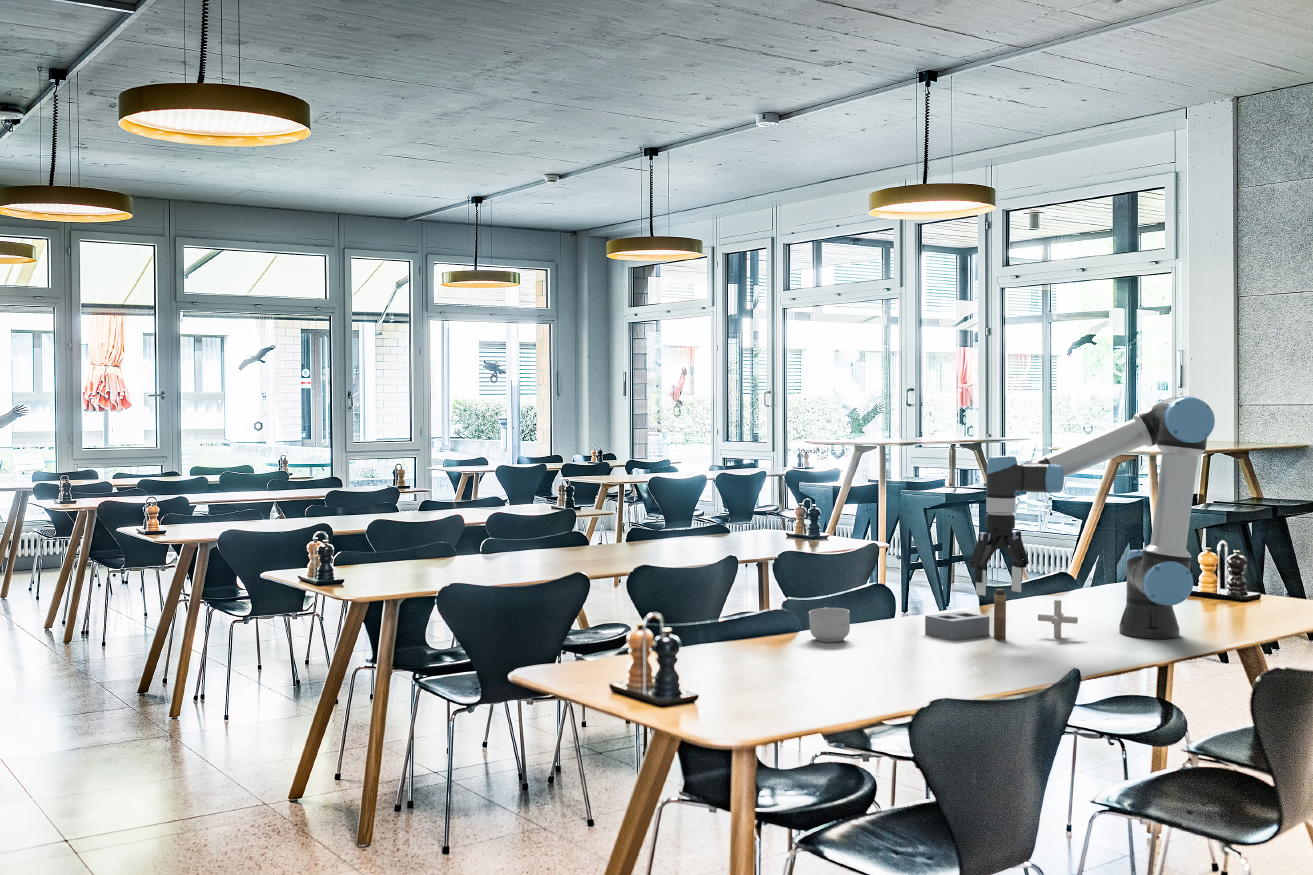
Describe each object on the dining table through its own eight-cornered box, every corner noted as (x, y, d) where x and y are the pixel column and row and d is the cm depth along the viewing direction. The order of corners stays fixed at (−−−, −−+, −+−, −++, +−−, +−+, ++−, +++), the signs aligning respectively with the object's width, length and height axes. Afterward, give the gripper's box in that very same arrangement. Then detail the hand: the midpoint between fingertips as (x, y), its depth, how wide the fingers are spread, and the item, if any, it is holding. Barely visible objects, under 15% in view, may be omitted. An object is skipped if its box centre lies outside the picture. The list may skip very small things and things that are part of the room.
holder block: (989, 634, 317) (989, 616, 317) (952, 639, 310) (952, 621, 310) (961, 629, 326) (961, 611, 326) (925, 633, 319) (925, 615, 319)
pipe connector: (1034, 638, 312) (1035, 601, 312) (1041, 632, 321) (1041, 596, 321) (1074, 642, 307) (1074, 604, 307) (1079, 635, 316) (1080, 598, 316)
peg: (1008, 639, 311) (1008, 589, 311) (1000, 640, 310) (1000, 590, 309) (999, 637, 314) (999, 588, 314) (991, 638, 312) (991, 589, 312)
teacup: (848, 645, 303) (849, 614, 303) (806, 643, 306) (807, 612, 306) (850, 635, 317) (851, 605, 317) (810, 633, 319) (810, 604, 319)
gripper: (1021, 511, 321) (1019, 588, 321) (956, 513, 308) (954, 594, 308) (1043, 513, 314) (1041, 591, 315) (977, 516, 301) (976, 598, 302)
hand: (998, 593), depth 312 cm, fingers open, 13 cm apart
